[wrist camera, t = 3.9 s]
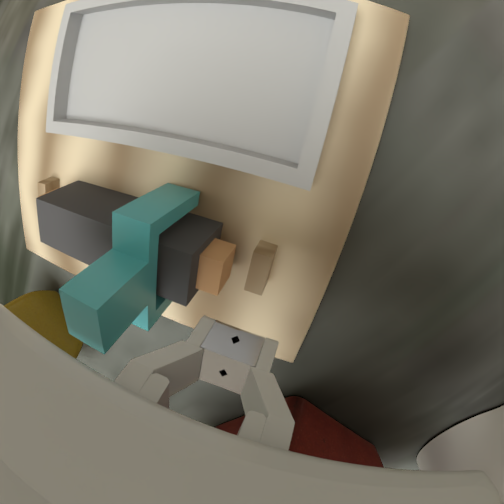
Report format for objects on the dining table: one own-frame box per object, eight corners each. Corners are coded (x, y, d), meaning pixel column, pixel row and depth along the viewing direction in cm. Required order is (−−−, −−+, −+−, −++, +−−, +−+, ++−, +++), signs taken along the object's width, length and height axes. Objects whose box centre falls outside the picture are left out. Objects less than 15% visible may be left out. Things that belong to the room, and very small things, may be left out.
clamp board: (404, 21, 10) (417, 6, 8) (295, 351, 21) (288, 378, 19) (45, 12, 14) (21, 10, 11) (35, 243, 24) (16, 255, 22)
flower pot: (33, 299, 29) (-16, 342, 21) (49, 265, 25) (-15, 314, 17) (80, 354, 31) (36, 404, 23) (106, 333, 27) (51, 394, 19)
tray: (356, 14, 10) (358, 3, 9) (312, 183, 14) (310, 191, 13) (82, 7, 12) (65, 4, 11) (62, 128, 17) (45, 132, 15)
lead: (243, 229, 16) (217, 263, 13) (233, 274, 18) (208, 315, 14) (67, 177, 18) (26, 194, 15) (68, 215, 20) (30, 236, 16)
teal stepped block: (200, 191, 16) (91, 267, 8) (187, 282, 19) (109, 379, 11) (167, 182, 16) (51, 247, 9) (160, 272, 19) (76, 359, 12)
